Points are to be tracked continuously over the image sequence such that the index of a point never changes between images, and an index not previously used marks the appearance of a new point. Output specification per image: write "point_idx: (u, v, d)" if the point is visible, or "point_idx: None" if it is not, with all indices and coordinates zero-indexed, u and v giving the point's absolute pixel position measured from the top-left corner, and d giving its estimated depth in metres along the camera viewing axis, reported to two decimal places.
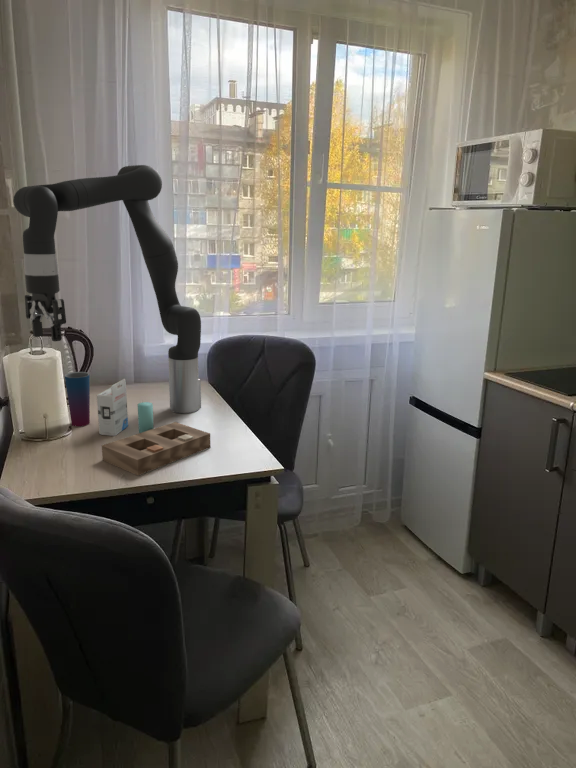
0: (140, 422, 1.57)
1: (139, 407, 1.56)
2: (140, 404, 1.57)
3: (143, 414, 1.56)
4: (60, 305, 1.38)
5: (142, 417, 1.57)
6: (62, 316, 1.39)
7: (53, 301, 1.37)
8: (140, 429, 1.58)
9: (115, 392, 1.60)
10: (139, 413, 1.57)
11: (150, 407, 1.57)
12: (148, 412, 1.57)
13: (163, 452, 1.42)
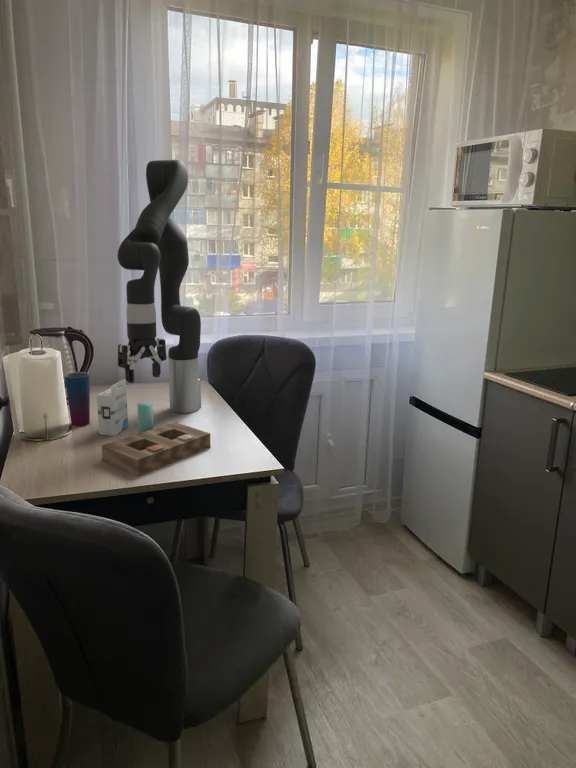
0: (140, 422, 1.57)
1: (139, 407, 1.56)
2: (140, 404, 1.57)
3: (143, 414, 1.56)
4: None
5: (142, 417, 1.57)
6: (159, 353, 1.60)
7: (164, 340, 1.57)
8: (140, 429, 1.58)
9: (115, 392, 1.60)
10: (139, 413, 1.57)
11: (150, 407, 1.57)
12: (148, 412, 1.57)
13: (163, 452, 1.42)
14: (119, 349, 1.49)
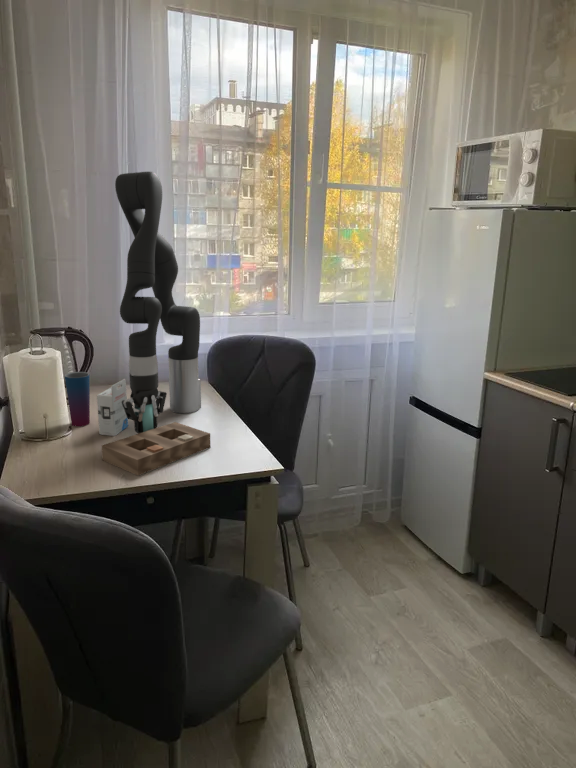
0: None
1: None
2: None
3: (143, 414, 1.56)
4: None
5: (142, 417, 1.57)
6: (157, 405, 1.62)
7: (165, 393, 1.61)
8: None
9: (115, 392, 1.60)
10: None
11: (150, 407, 1.57)
12: (148, 412, 1.57)
13: (163, 452, 1.42)
14: (124, 405, 1.53)
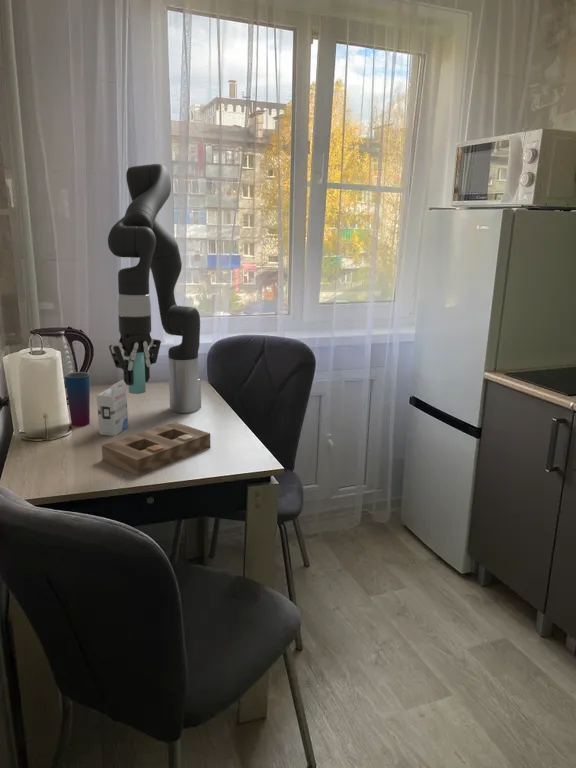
0: None
1: None
2: None
3: (133, 362, 1.38)
4: None
5: (133, 365, 1.38)
6: (150, 355, 1.44)
7: (159, 341, 1.43)
8: None
9: (115, 392, 1.60)
10: None
11: (141, 355, 1.38)
12: (139, 361, 1.38)
13: (163, 452, 1.42)
14: (111, 351, 1.34)
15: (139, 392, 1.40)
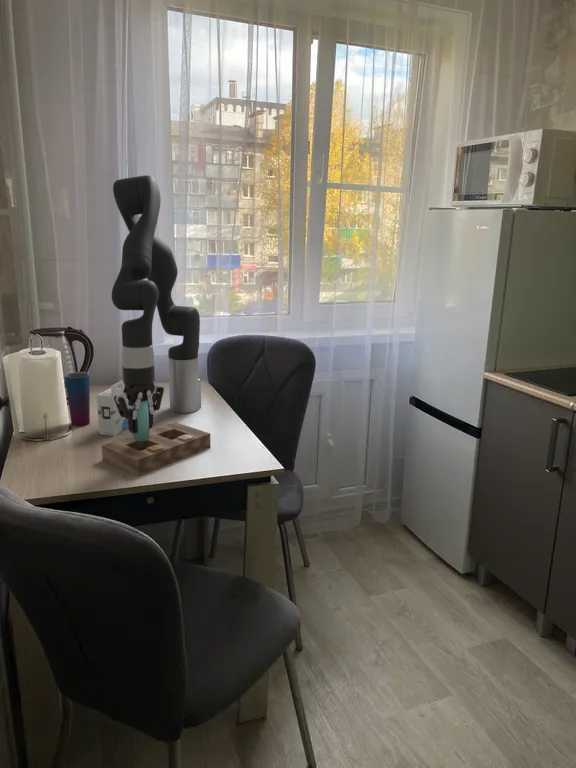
0: None
1: None
2: None
3: (137, 411, 1.41)
4: None
5: (137, 414, 1.41)
6: (153, 401, 1.47)
7: (162, 388, 1.46)
8: None
9: (115, 392, 1.60)
10: None
11: (145, 403, 1.41)
12: (143, 409, 1.41)
13: (163, 452, 1.42)
14: (116, 401, 1.37)
15: (143, 439, 1.43)
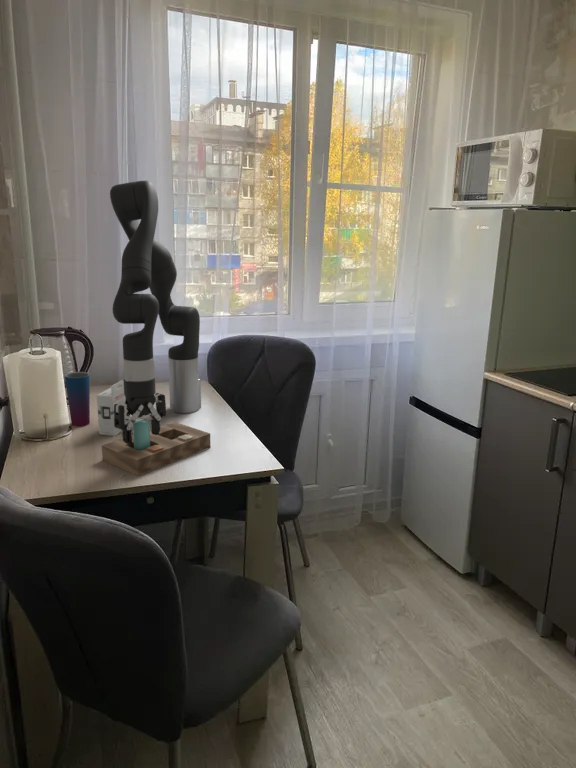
0: (136, 442, 1.43)
1: (135, 425, 1.42)
2: (135, 422, 1.43)
3: (139, 433, 1.42)
4: None
5: (138, 436, 1.42)
6: (159, 408, 1.48)
7: (163, 396, 1.46)
8: None
9: (115, 392, 1.60)
10: (134, 432, 1.43)
11: (146, 425, 1.43)
12: (144, 431, 1.43)
13: (163, 452, 1.42)
14: (115, 409, 1.37)
15: None
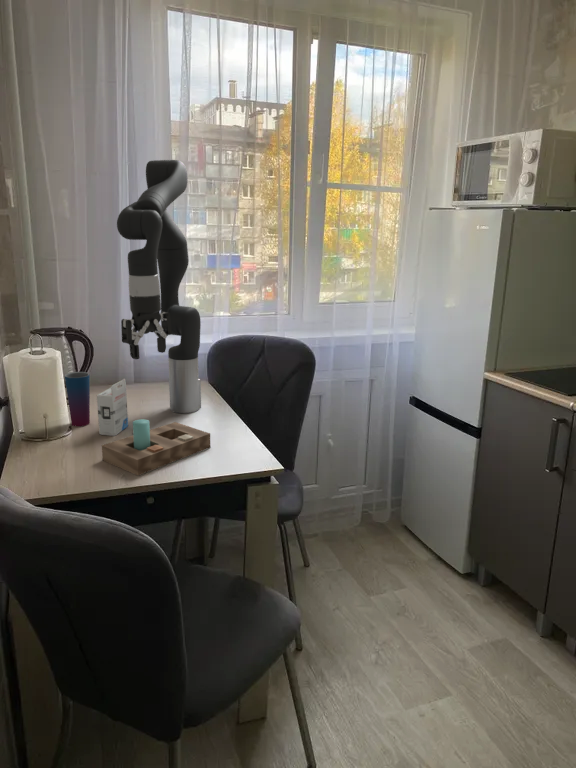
0: (136, 442, 1.43)
1: (135, 425, 1.42)
2: (136, 422, 1.43)
3: (139, 433, 1.42)
4: None
5: (138, 436, 1.42)
6: (164, 327, 1.53)
7: (168, 314, 1.51)
8: None
9: (115, 392, 1.60)
10: (134, 432, 1.43)
11: (146, 425, 1.43)
12: (144, 431, 1.43)
13: (163, 452, 1.42)
14: (123, 324, 1.42)
15: None
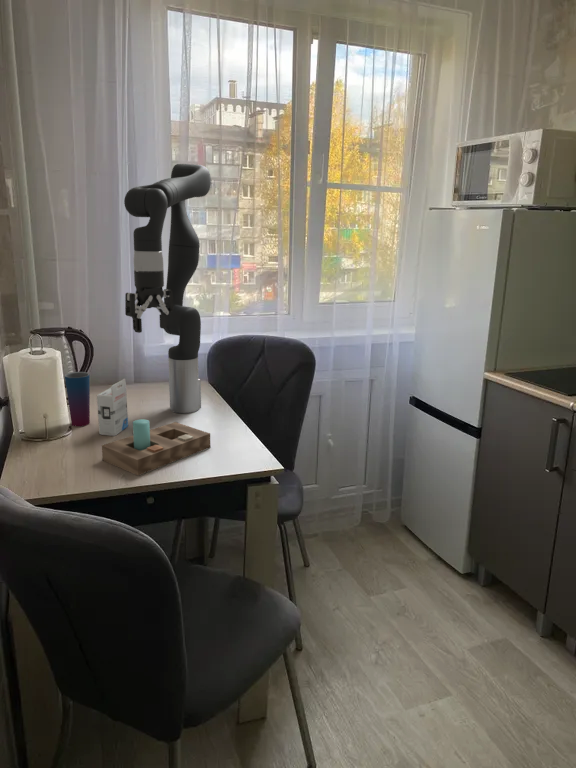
0: (136, 442, 1.43)
1: (135, 425, 1.42)
2: (136, 422, 1.43)
3: (139, 433, 1.42)
4: None
5: (138, 436, 1.42)
6: (167, 304, 1.58)
7: (171, 291, 1.56)
8: None
9: (115, 392, 1.60)
10: (134, 432, 1.43)
11: (147, 425, 1.43)
12: (144, 431, 1.43)
13: (163, 452, 1.42)
14: (126, 297, 1.47)
15: None
